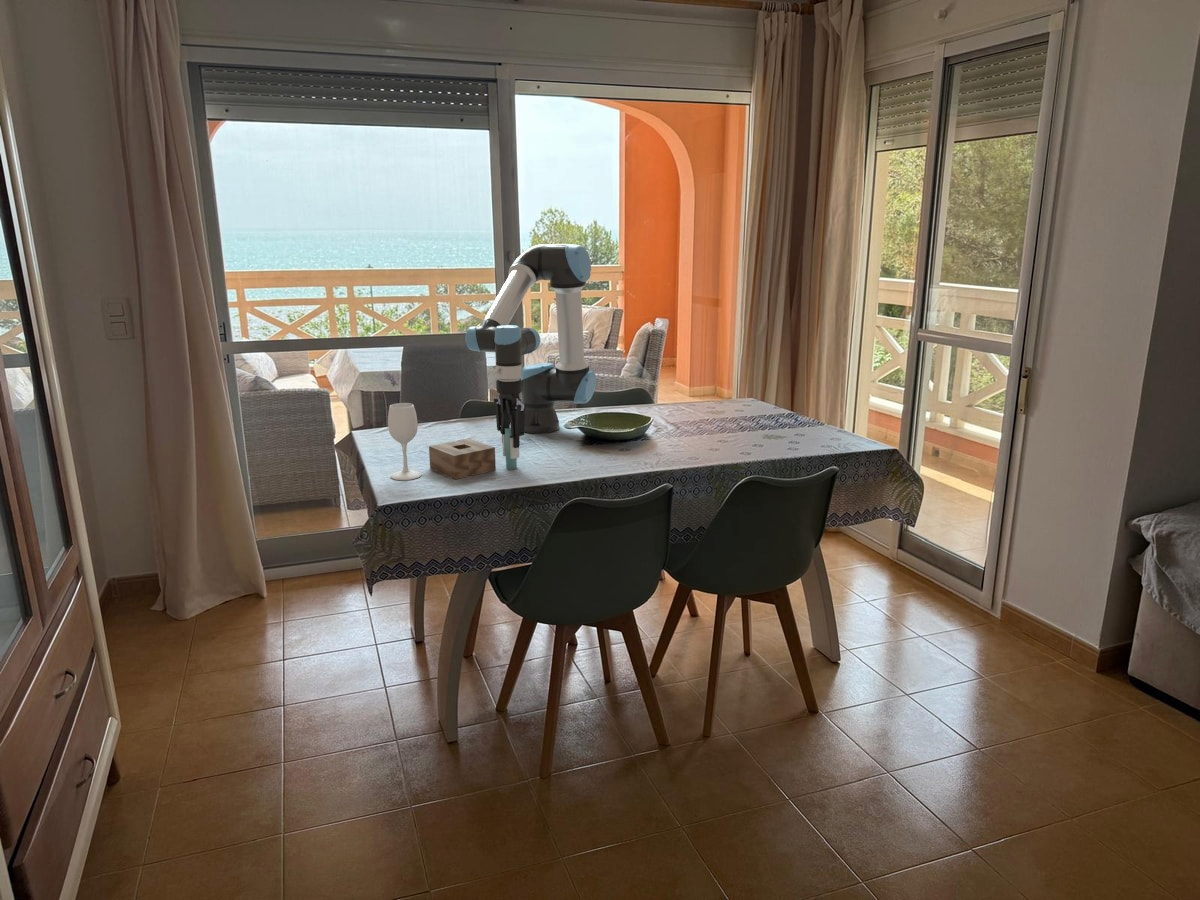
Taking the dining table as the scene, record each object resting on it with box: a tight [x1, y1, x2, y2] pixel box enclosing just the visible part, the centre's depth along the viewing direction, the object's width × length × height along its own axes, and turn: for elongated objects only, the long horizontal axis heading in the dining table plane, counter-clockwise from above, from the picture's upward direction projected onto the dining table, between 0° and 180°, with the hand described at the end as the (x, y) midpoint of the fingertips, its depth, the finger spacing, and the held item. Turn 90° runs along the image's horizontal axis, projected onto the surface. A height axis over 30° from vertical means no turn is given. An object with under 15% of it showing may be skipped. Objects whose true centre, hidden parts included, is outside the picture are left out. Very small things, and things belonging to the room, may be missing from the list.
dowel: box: [505, 427, 518, 470], centre depth 239 cm, size 3×3×12 cm
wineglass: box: [387, 402, 422, 481], centre depth 229 cm, size 9×9×21 cm
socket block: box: [428, 438, 497, 480], centre depth 238 cm, size 14×14×7 cm
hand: (511, 456), depth 240 cm, fingers closed on dowel, 3 cm apart
